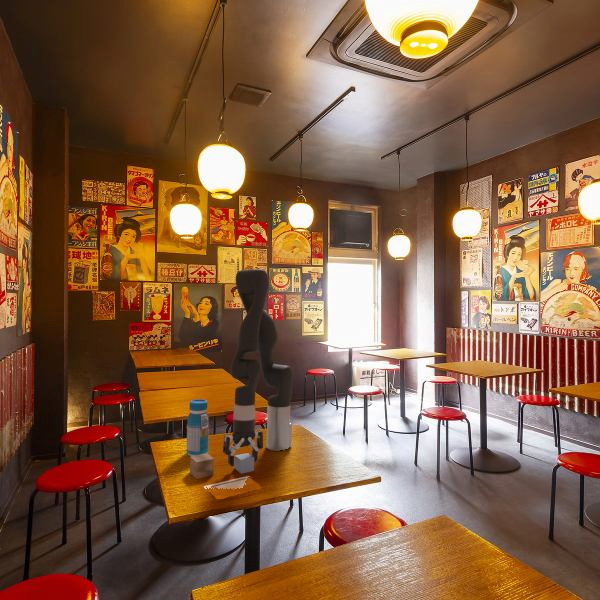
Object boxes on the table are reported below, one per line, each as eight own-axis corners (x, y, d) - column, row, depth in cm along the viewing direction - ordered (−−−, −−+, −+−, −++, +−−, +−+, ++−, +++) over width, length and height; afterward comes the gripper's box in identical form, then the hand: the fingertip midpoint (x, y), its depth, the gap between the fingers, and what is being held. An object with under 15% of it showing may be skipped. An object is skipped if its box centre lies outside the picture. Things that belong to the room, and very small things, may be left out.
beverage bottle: (185, 457, 158) (186, 404, 158) (186, 449, 167) (187, 398, 167) (208, 456, 160) (210, 403, 160) (208, 448, 169) (209, 398, 168)
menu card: (248, 476, 143) (248, 475, 143) (264, 489, 134) (264, 487, 134) (203, 487, 134) (203, 486, 134) (216, 502, 125) (217, 500, 125)
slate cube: (247, 467, 151) (247, 453, 151) (253, 472, 147) (254, 457, 147) (234, 469, 149) (234, 455, 149) (240, 475, 144) (241, 460, 144)
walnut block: (206, 470, 148) (207, 453, 148) (213, 476, 143) (213, 458, 143) (189, 474, 144) (190, 456, 144) (196, 480, 139) (196, 462, 139)
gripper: (257, 412, 155) (256, 456, 155) (220, 416, 147) (219, 463, 147) (267, 416, 149) (266, 463, 148) (229, 421, 141) (228, 471, 141)
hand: (242, 463), depth 148 cm, fingers open, 8 cm apart
